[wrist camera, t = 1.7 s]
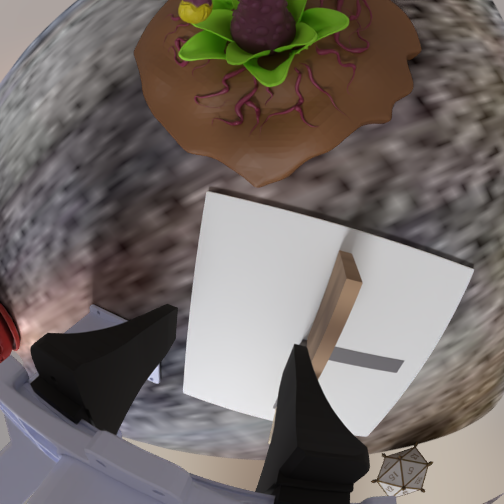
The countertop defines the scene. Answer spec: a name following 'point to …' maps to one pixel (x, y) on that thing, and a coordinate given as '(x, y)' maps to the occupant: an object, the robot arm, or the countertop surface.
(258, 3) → the plant
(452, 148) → the countertop surface
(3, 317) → the plant pot
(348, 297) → the brown wooden board
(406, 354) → the card
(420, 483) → the game die
